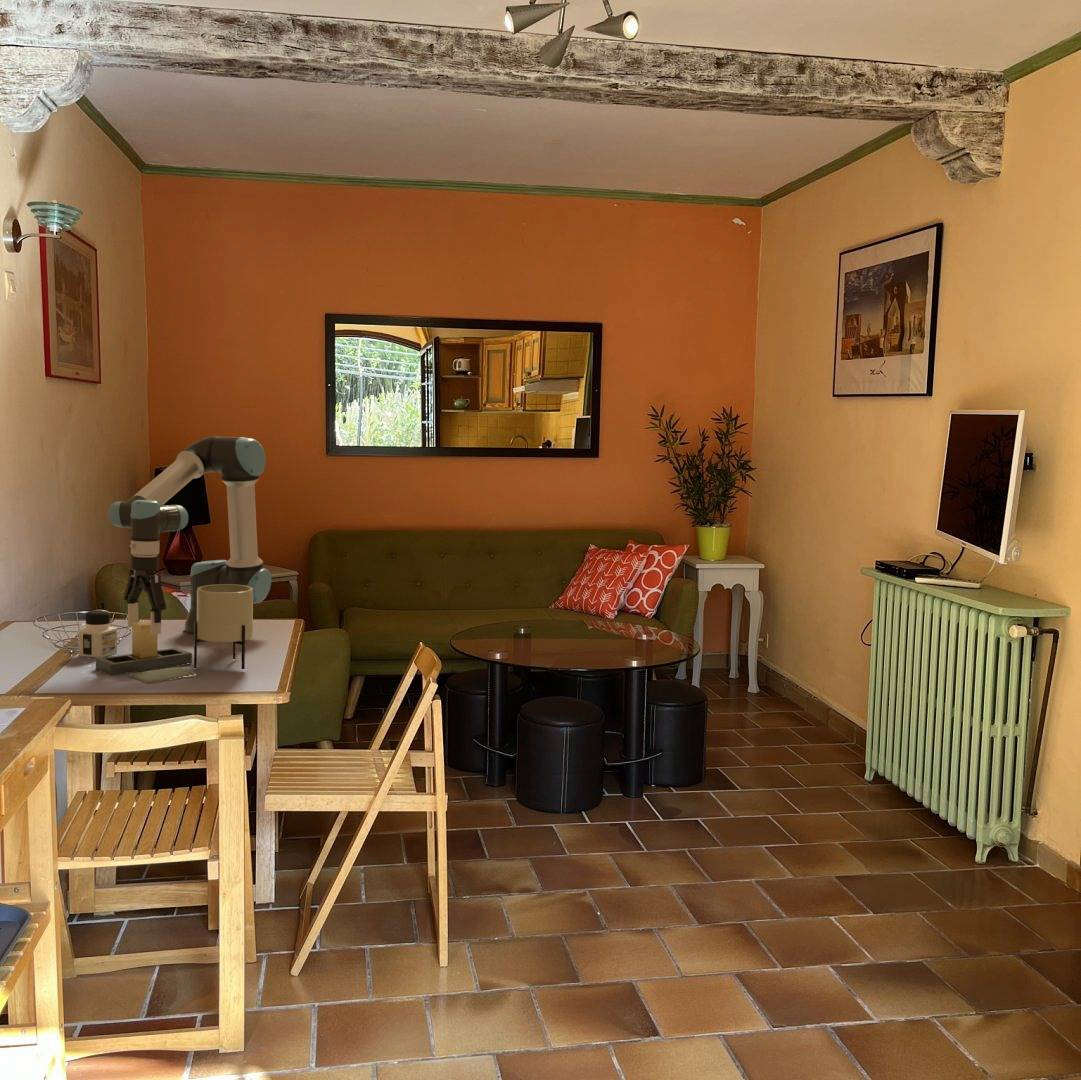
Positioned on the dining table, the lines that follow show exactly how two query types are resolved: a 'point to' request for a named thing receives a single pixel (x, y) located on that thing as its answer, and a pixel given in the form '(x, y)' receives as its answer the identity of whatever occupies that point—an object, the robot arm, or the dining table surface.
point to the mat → (162, 674)
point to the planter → (224, 616)
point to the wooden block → (143, 641)
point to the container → (97, 635)
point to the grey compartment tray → (143, 661)
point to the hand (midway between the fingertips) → (144, 630)
